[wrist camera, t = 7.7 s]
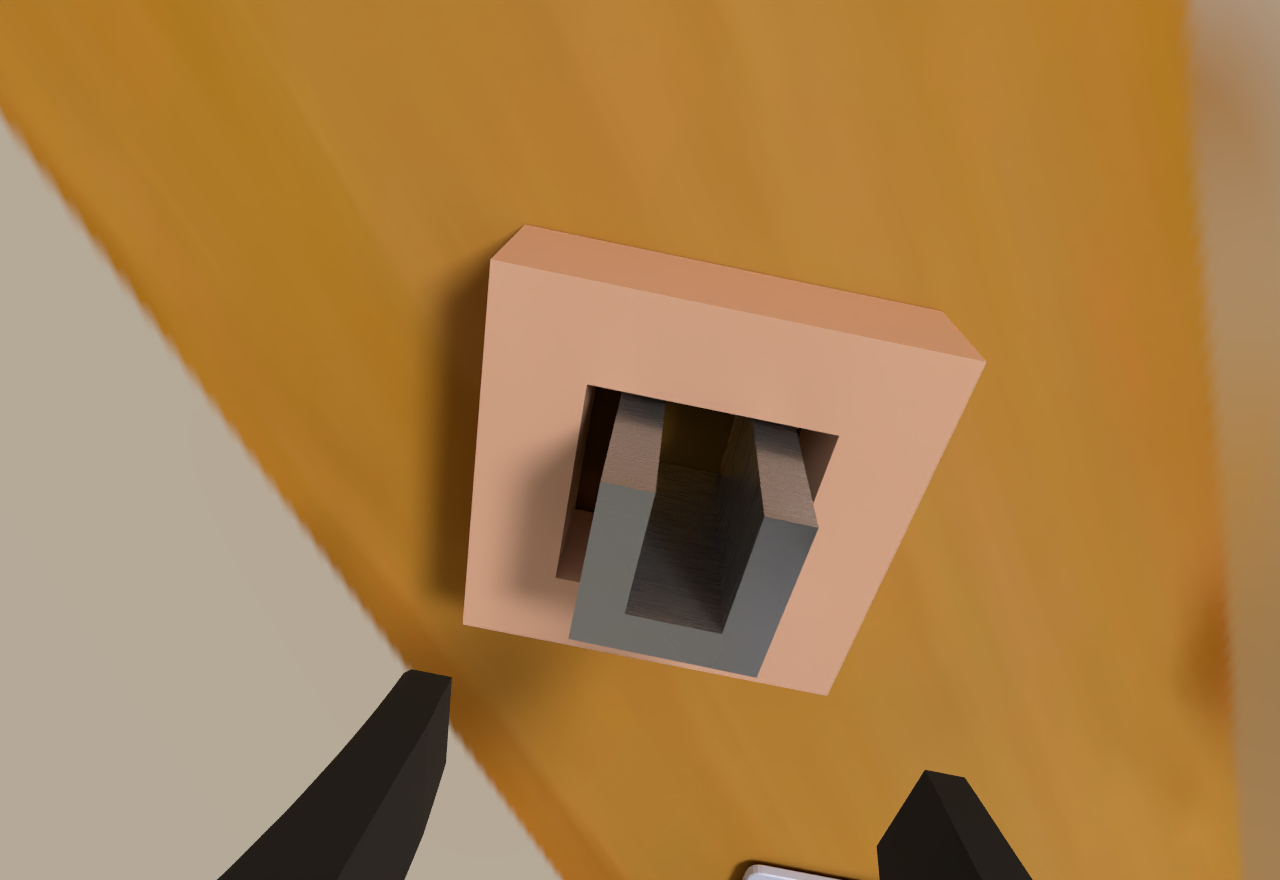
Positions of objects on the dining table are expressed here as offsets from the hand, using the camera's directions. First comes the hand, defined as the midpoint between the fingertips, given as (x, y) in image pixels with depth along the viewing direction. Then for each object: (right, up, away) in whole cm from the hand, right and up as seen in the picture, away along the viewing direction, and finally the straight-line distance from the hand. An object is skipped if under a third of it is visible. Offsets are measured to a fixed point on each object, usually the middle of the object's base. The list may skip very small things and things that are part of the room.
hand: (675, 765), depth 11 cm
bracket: (+1, +5, +8) cm, 10 cm away
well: (+1, +5, +8) cm, 10 cm away
